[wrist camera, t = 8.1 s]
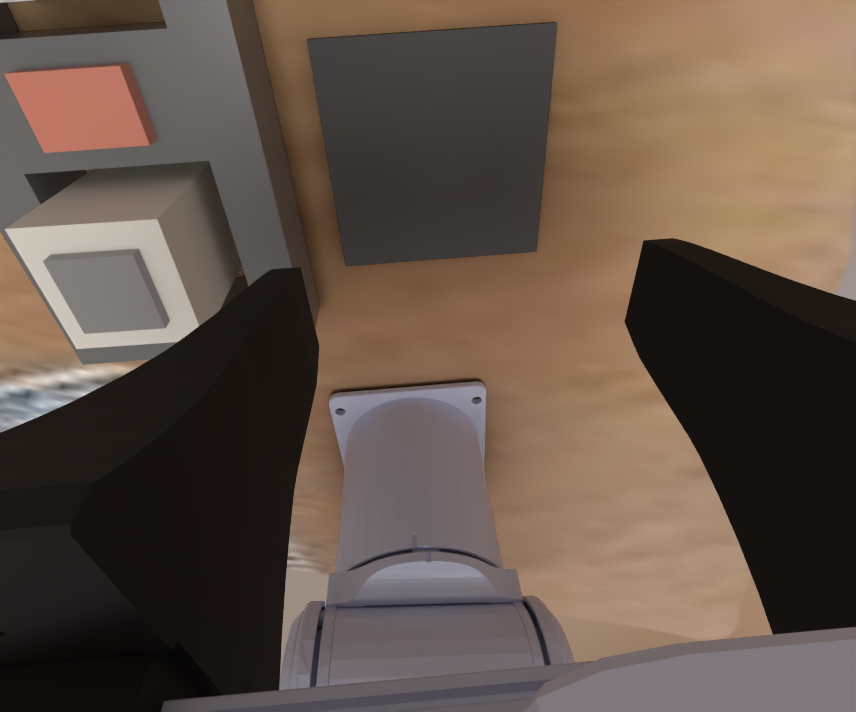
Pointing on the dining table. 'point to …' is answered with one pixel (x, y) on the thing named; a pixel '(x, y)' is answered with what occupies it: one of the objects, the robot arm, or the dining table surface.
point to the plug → (131, 253)
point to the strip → (152, 126)
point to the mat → (436, 139)
